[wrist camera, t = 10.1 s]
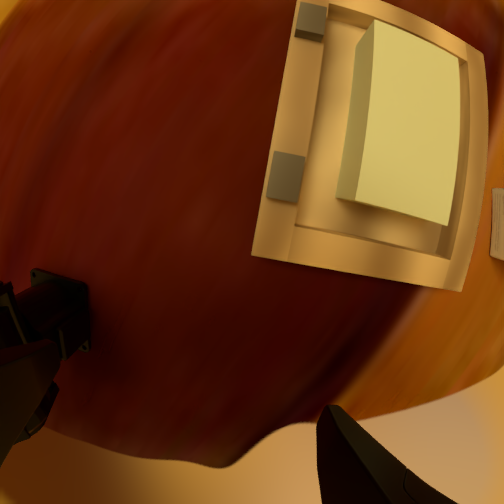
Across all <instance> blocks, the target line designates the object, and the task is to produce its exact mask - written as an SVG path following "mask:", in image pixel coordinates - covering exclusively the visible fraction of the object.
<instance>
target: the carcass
mask: <svg viewBox="0 0 504 504" xmlns="http://www.w3.org/2000/svg"><path fill="white" fill-rule="evenodd" d="M374 19H375V20H378V21H380V22H383V23H386V24H388V25H391V26H393V27H396V28H398V29H401V30H403V31H405V32H408V33H410V34H412V35H414V36H416V37H419V38H421V39H423V40H425V41H427V42H429V43H431V44H433V45H435V46H437V47H439V48H440V49H442V50H444V51H446V52H448V53H450V54H451V55H453V56H455V57H457V58H458V63H459V78H460V134H459V149H458V161H457V170H456V179H455V186H454V193H453V199H452V205H451V211H450V216H449V221H448V226H445V225H441V224H437V223H433V222H429V221H425V220H421V219H417V218H413V217H409V216H406V215H402V214H399V213H395V212H391V211H388V210H384V209H380V208H376V207H372V206H368V205H364V204H360V203H356V202H352V201H348V200H344V199H339V198H335V194H336V188H337V183H338V177H339V171H340V166H341V160H342V154H343V147H344V141H345V134H346V127H347V120H348V112H349V104H350V96H351V88H352V78H353V68H354V57H355V46H356V45H357V43H358V42H359V41H360V39H361V38H362V36H363V35H364V33H365V32H366V31H367V29H368V28H369V26H370V25H371V24H372V22H373V21H374ZM487 150H488V99H487V84H486V74H485V65H484V57H483V54H482V53H481V52H479V51H478V50H476V49H475V48H473V47H472V46H470V45H469V44H467V43H466V42H464V41H462V40H461V39H459V38H457V37H456V36H454V35H452V34H451V33H449V32H447V31H445V30H443V29H442V28H440V27H438V26H436V25H434V24H432V23H430V22H428V21H426V20H424V19H422V18H420V17H418V16H416V15H414V14H412V13H409V12H407V11H405V10H403V9H400V8H398V7H396V6H393V5H391V4H388V3H385V2H383V1H380V0H297V3H296V8H295V14H294V19H293V25H292V31H291V36H290V42H289V47H288V53H287V58H286V64H285V69H284V75H283V80H282V86H281V91H280V97H279V102H278V108H277V114H276V119H275V125H274V130H273V136H272V141H271V147H270V152H269V158H268V163H267V169H266V175H265V180H264V186H263V191H262V197H261V202H260V208H259V213H258V219H257V225H256V230H255V236H254V241H253V247H252V254H251V255H252V256H258V257H264V258H269V259H275V260H280V261H286V262H292V263H297V264H303V265H309V266H314V267H320V268H326V269H331V270H337V271H343V272H348V273H354V274H360V275H366V276H371V277H377V278H383V279H389V280H394V281H400V282H406V283H412V284H417V285H423V286H429V287H435V288H441V289H446V290H452V291H458V292H461V291H462V287H463V284H464V281H465V278H466V274H467V271H468V267H469V263H470V260H471V256H472V252H473V247H474V243H475V239H476V234H477V229H478V224H479V219H480V213H481V207H482V200H483V193H484V185H485V176H486V165H487Z"/></svg>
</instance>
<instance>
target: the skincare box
mask: <svg viewBox="0 0 504 504" xmlns="http://www.w3.org/2000/svg"><path fill="white" fill-rule="evenodd" d="M490 256H492V257H494V258H497V259H500V260H503V261H504V188H493V189H492V232H491V247H490Z"/></svg>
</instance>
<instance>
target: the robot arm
mask: <svg viewBox="0 0 504 504" xmlns="http://www.w3.org/2000/svg"><path fill="white" fill-rule="evenodd" d="M35 274H36V275H35ZM30 275H31V287H30V288H28V289H26V290H24V291H22V292H20V293H18V294H17V295H14V292H13V286H12V283H11V281H10V282H7V283H4V284H3V282H2V281H0V467H1V465H2V463H3V462H4V460H5V458H6V456H7V454H8V453H9V451H10V450H11V448H12V446H13V445H15V444H16V443H18V442H21V441H23V440H26V439H29V438H30V437H31V436H32V435H34V434H35V433H37V432H38V431H39V430H40V429H41V428H42V427H43V425H44V424H45V422H46V420H47V417H48V415H49V412H50V410H51V408H52V405H53V403H54V401H55V398H56V396H57V394H58V392H59V388H58V386H57V384H56V383H54V381H53V379H54V377H55V375H56V373H57V371H58V370H59V367H60V361H61V360H64V361H66V360H67V359H68V358H69V357H70V356H71V355H72V354H73V353H74V352H75V351H76V350H77V349H78V350H81V351H83V352H88V351H89V350H90V349H91V343H90V324H89V312H88V302H87V287H86V285H85V284H84V283H83V282H80V281H76V280H73V279H69V278H66V277H63V276H59V275H56V274H53V273H50V272H47V271H43V270H40V269H37V268H34V269H32V270H31V272H30ZM80 287H81V288H82V291H81V289H80ZM84 345H85V346H86V347H85V346H84ZM316 436H317V471H318V478H319V485H320V492H321V499H322V504H457V503H456V502H455V501H453V500H451V499H450V498H448V497H446V496H445V495H443V494H442V493H440V492H439V491H437V490H436V489H434V488H433V487H431V486H430V485H428V484H427V483H425V482H424V481H423V480H422V479H420V478H419V477H418V476H416V475H415V474H414V473H413V472H412V471H411V470H409V469H407V468H406V466H405V465H404V464H402V463H401V462H400V461H399V460H397V458H396V457H394V456H393V455H392V454H391V453H390V452H388V450H386V449H385V448H384V447H383V446H382V445H381V444H380V443H378V441H376V440H375V439H374V438H373V437H372V436H371V435H370V434H369V433H368V432H367V431H365V430H364V429H363V428H362V427H361V426H360V425H359V424H358V423H357V422H356V421H355V420H354V419H353V418H352V417H350V416H349V415H348V414H347V413H346V412H345V411H344V410H343V409H342V408H341V407H340V406H338V405H326V406H325V407H324V409H323V411H322V413H321V416H320V418H319V420H318V422H317V426H316Z"/></svg>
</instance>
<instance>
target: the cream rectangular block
mask: <svg viewBox="0 0 504 504" xmlns="http://www.w3.org/2000/svg"><path fill="white" fill-rule="evenodd" d="M459 134H460V78H459V63H458V58H457V57H455V56H453V55H451V54H450V53H448V52H446V51H444V50H442V49H440V48H439V47H437V46H435V45H433V44H431V43H429V42H427V41H425V40H423V39H421V38H419V37H416V36H414V35H412V34H410V33H408V32H405V31H403V30H401V29H398V28H396V27H393V26H391V25H388V24H386V23H383V22H380V21H378V20H375V19H374V21H373V22H372V24H371V25H370V26H369V28H368V29H367V31H366V32H365V33H364V35H363V36H362V38H361V39H360V41H359V42H358V43H357V45H356V46H355V57H354V68H353V78H352V88H351V96H350V104H349V112H348V120H347V127H346V134H345V141H344V147H343V154H342V160H341V166H340V171H339V177H338V183H337V188H336V194H335V198H339V199H344V200H348V201H352V202H356V203H360V204H364V205H368V206H372V207H376V208H380V209H384V210H388V211H391V212H395V213H399V214H402V215H406V216H409V217H413V218H417V219H421V220H425V221H429V222H433V223H437V224H441V225H445V226H448V221H449V216H450V211H451V205H452V199H453V193H454V186H455V179H456V170H457V161H458V149H459Z"/></svg>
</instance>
